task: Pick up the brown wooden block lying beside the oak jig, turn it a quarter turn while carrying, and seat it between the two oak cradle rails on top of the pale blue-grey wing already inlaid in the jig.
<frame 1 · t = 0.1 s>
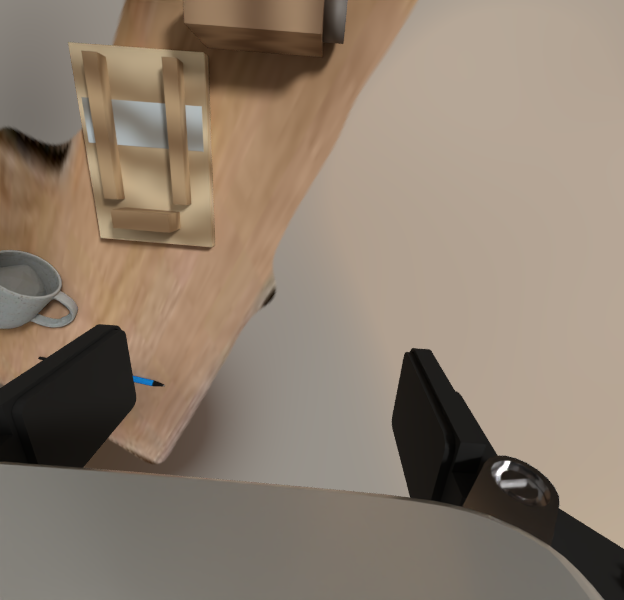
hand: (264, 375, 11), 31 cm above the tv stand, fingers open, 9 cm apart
pen: (105, 369, 49), on the tv stand
ceramic mug: (47, 287, 45), on the tv stand
jig: (152, 155, 37), on the tv stand
brown wooden block: (265, 26, 33), on the tv stand
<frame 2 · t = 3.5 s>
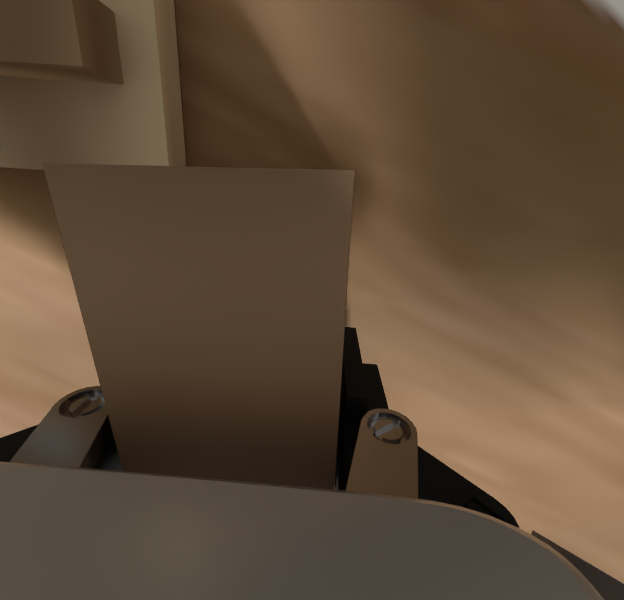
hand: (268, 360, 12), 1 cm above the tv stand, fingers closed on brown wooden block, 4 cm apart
brown wooden block: (272, 339, 12), on the tv stand, touching gripper
when the fingers open (4 cm above the tv stand, at t = 9.3 s): brown wooden block drops 1 cm, resting on jig.
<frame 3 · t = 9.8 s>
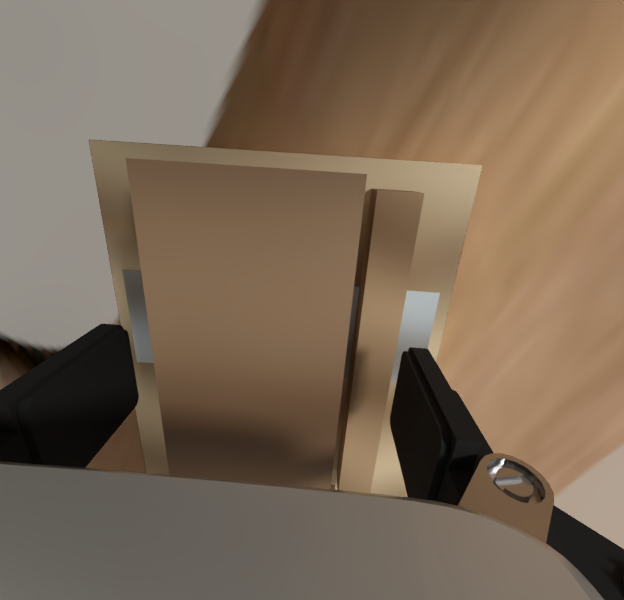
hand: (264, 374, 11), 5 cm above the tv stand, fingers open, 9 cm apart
jig: (280, 372, 16), on the tv stand
brown wooden block: (280, 321, 14), point 1 cm above the tv stand, touching jig
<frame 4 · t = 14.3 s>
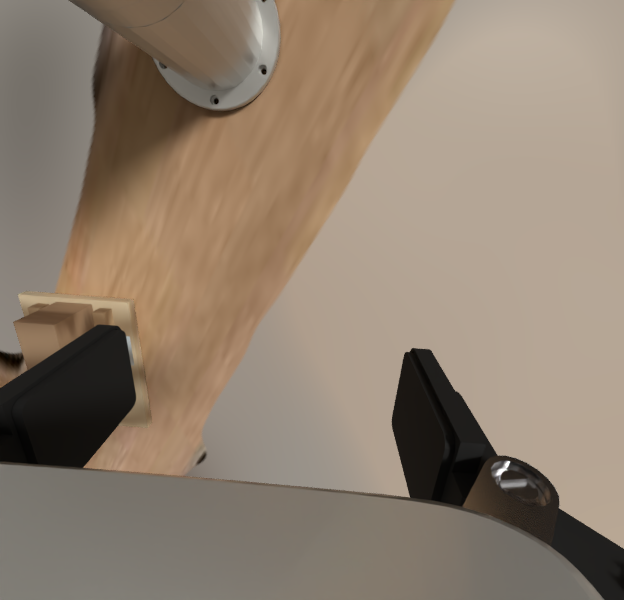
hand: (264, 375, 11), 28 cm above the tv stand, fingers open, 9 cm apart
jig: (94, 361, 45), on the tv stand
brown wooden block: (83, 344, 43), point 1 cm above the tv stand, touching jig
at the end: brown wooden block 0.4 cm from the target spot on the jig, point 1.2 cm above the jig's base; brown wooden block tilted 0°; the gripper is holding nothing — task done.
